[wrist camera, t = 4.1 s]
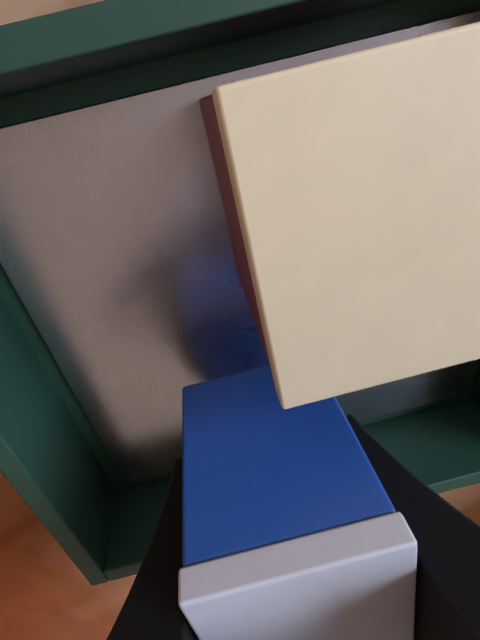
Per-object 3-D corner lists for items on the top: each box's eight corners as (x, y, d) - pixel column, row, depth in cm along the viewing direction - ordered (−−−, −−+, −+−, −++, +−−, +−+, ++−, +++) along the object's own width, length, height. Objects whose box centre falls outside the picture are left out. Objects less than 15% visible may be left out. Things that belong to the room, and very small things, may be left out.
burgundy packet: (354, 58, 9) (541, 5, 4) (364, 255, 12) (490, 357, 7) (196, 97, 9) (213, 86, 4) (240, 287, 12) (282, 412, 7)
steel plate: (497, 5, 9) (506, 2, 9) (459, 390, 16) (464, 395, 15) (-61, 143, 9) (-68, 143, 9) (125, 477, 15) (124, 484, 15)
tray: (536, -62, 9) (727, -151, 6) (476, 395, 17) (548, 465, 13) (-130, 100, 9) (-302, 97, 6) (108, 492, 16) (91, 586, 13)
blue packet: (314, 350, 11) (419, 543, 6) (330, 469, 13) (414, 671, 9) (178, 384, 11) (176, 607, 6) (221, 497, 13) (243, 716, 9)
